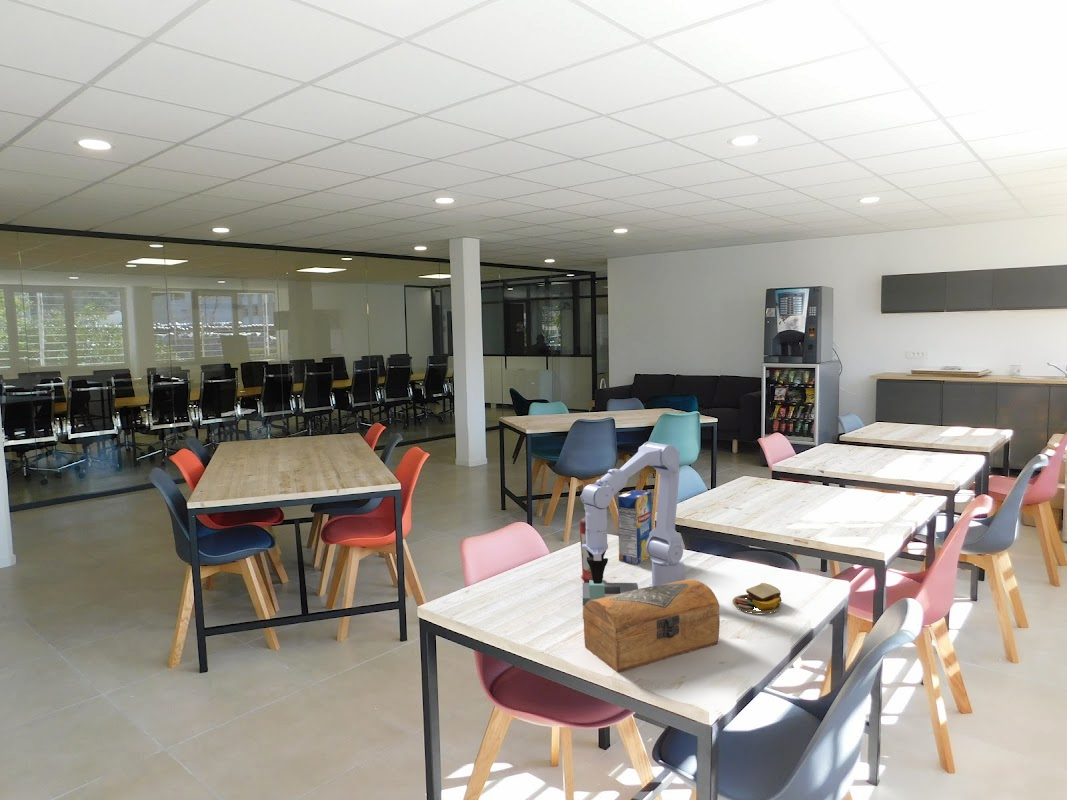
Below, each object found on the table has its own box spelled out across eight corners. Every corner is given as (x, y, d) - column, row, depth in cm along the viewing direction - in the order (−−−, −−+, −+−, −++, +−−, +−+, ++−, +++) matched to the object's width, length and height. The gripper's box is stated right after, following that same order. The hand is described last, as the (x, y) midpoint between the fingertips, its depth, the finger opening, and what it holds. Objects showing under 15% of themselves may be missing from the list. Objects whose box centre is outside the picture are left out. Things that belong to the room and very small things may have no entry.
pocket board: (637, 591, 202) (637, 582, 202) (640, 607, 190) (640, 598, 190) (582, 590, 203) (582, 582, 203) (582, 606, 191) (582, 598, 191)
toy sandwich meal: (723, 601, 194) (723, 585, 193) (766, 595, 197) (766, 579, 197) (748, 618, 182) (748, 601, 181) (793, 612, 185) (793, 595, 185)
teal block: (604, 608, 189) (604, 580, 188) (604, 614, 185) (604, 585, 184) (589, 608, 189) (589, 580, 188) (589, 614, 185) (589, 585, 184)
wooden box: (618, 676, 153) (617, 615, 151) (582, 646, 167) (581, 591, 166) (724, 647, 165) (724, 591, 164) (681, 622, 180) (681, 570, 179)
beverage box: (618, 561, 229) (618, 496, 227) (633, 552, 238) (633, 489, 236) (637, 564, 225) (636, 498, 223) (652, 555, 234) (651, 492, 232)
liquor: (604, 577, 214) (603, 489, 212) (604, 585, 207) (603, 494, 204) (580, 577, 215) (579, 489, 212) (579, 585, 208) (578, 494, 205)
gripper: (581, 521, 192) (582, 569, 194) (581, 537, 178) (582, 588, 179) (606, 521, 192) (607, 568, 193) (609, 537, 177) (609, 587, 179)
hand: (597, 578), depth 186 cm, fingers open, 7 cm apart
